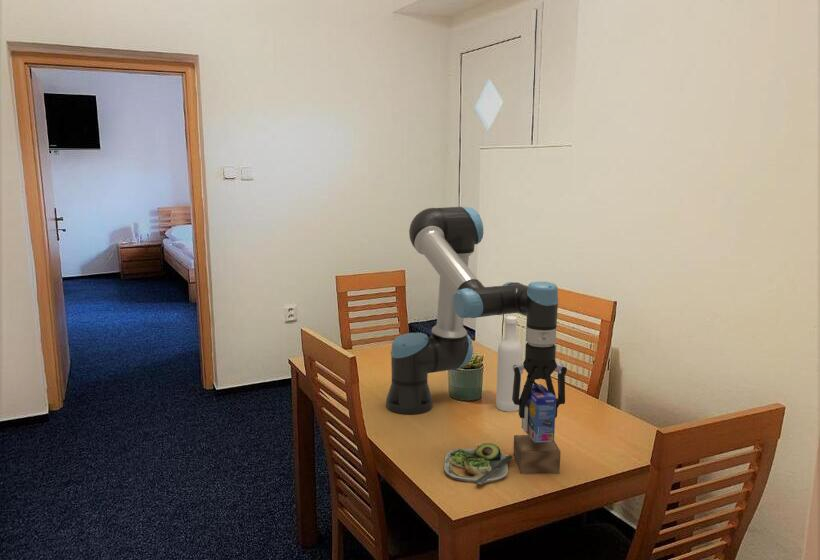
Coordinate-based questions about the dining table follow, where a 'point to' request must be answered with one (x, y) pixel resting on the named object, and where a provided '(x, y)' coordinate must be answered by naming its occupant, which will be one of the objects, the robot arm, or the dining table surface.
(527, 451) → the brown wooden block
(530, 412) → the ink cartridge box
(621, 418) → the dining table surface
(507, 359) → the bottle
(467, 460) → the avocado toast plate
